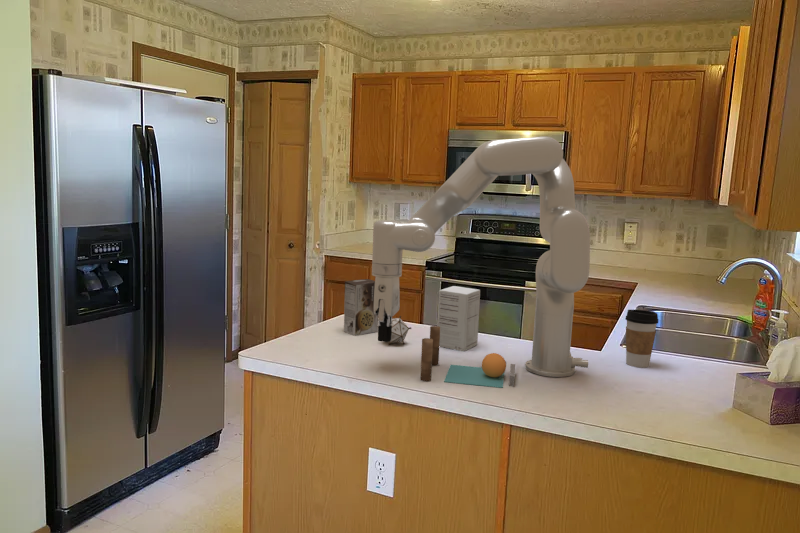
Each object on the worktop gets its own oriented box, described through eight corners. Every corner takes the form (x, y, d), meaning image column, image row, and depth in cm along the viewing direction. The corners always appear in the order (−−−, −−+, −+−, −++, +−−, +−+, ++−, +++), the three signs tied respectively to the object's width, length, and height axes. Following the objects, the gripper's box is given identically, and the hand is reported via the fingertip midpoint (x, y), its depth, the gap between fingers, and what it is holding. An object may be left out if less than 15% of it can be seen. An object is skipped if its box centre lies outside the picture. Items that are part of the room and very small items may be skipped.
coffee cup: (614, 361, 169) (619, 308, 167) (636, 358, 173) (641, 306, 171) (638, 370, 162) (644, 315, 160) (660, 367, 166) (666, 313, 164)
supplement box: (450, 339, 187) (453, 285, 184) (478, 344, 182) (481, 289, 179) (435, 346, 178) (438, 289, 176) (464, 351, 174) (467, 293, 171)
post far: (439, 363, 162) (440, 326, 161) (437, 366, 160) (439, 328, 158) (429, 362, 163) (431, 325, 161) (427, 365, 160) (429, 327, 159)
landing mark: (504, 370, 158) (504, 369, 158) (502, 388, 144) (502, 387, 144) (450, 365, 161) (450, 364, 161) (443, 382, 147) (443, 381, 147)
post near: (431, 378, 149) (433, 338, 148) (430, 381, 147) (432, 341, 145) (421, 377, 150) (423, 337, 148) (419, 380, 147) (421, 340, 146)
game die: (399, 357, 179) (410, 335, 173) (372, 346, 179) (383, 324, 172) (406, 336, 186) (417, 314, 180) (380, 325, 186) (390, 303, 179)
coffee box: (366, 327, 197) (367, 278, 195) (378, 332, 192) (380, 281, 190) (342, 331, 191) (344, 280, 189) (354, 336, 187) (356, 284, 184)
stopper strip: (514, 373, 155) (515, 364, 155) (514, 386, 146) (514, 376, 145) (509, 373, 156) (510, 363, 155) (508, 385, 146) (509, 375, 146)
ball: (484, 347, 155) (479, 369, 156) (484, 354, 149) (478, 377, 150) (508, 353, 154) (502, 375, 155) (508, 360, 148) (503, 383, 149)
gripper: (395, 275, 145) (392, 349, 148) (407, 266, 160) (404, 334, 162) (364, 273, 147) (362, 347, 149) (379, 264, 161) (377, 332, 164)
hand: (384, 340), depth 156 cm, fingers closed
